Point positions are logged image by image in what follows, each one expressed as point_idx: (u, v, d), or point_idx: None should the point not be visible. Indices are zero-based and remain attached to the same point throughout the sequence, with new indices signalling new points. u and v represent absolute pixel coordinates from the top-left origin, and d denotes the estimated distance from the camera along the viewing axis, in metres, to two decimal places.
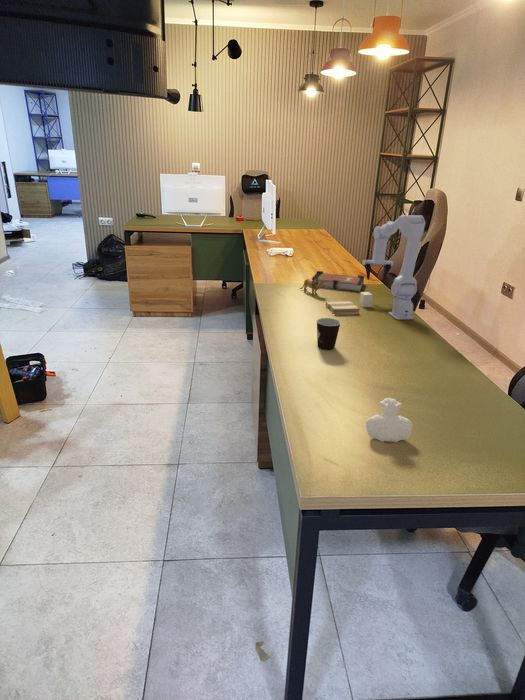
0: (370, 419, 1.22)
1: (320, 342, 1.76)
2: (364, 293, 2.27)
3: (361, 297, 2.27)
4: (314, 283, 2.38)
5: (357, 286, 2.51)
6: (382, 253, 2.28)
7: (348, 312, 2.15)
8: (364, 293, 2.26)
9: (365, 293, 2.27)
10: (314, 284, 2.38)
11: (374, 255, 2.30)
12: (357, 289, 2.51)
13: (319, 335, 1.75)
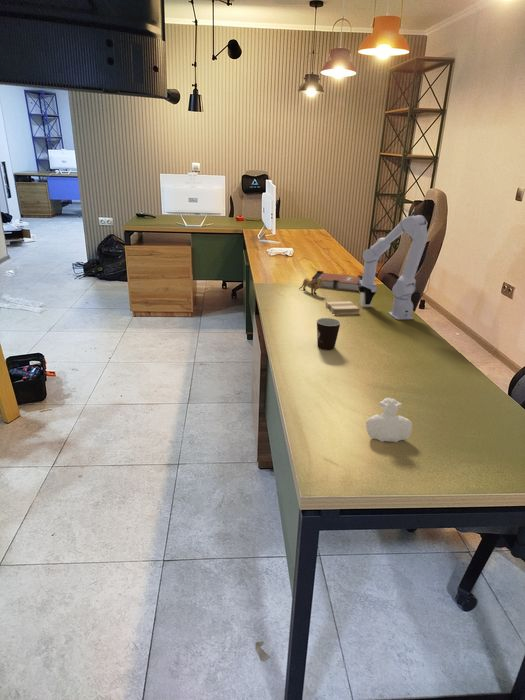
0: (370, 419, 1.22)
1: (320, 342, 1.76)
2: (364, 293, 2.26)
3: (361, 297, 2.27)
4: (313, 283, 2.39)
5: (357, 286, 2.51)
6: (364, 275, 2.22)
7: (348, 312, 2.15)
8: (364, 293, 2.26)
9: None
10: (313, 284, 2.39)
11: None
12: (357, 289, 2.51)
13: (319, 335, 1.75)
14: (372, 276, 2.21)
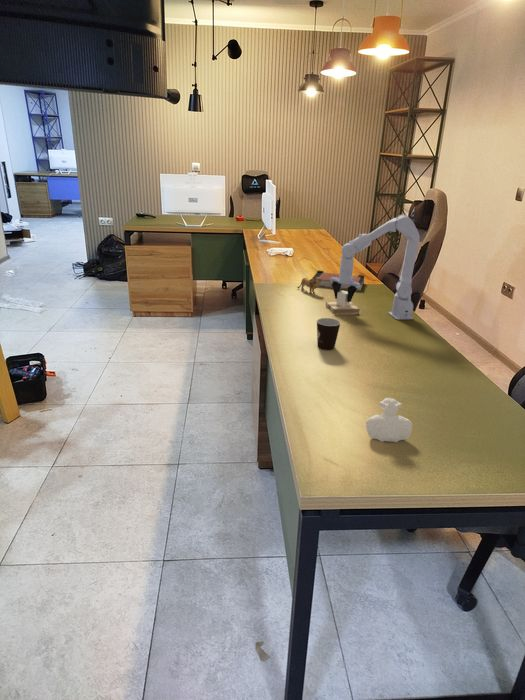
0: (370, 419, 1.22)
1: (320, 342, 1.76)
2: (343, 292, 2.17)
3: (340, 297, 2.17)
4: (312, 282, 2.40)
5: None
6: (344, 272, 2.11)
7: (349, 312, 2.15)
8: (343, 293, 2.17)
9: (343, 292, 2.17)
10: (312, 283, 2.40)
11: None
12: (358, 288, 2.52)
13: (319, 335, 1.75)
14: (352, 272, 2.12)
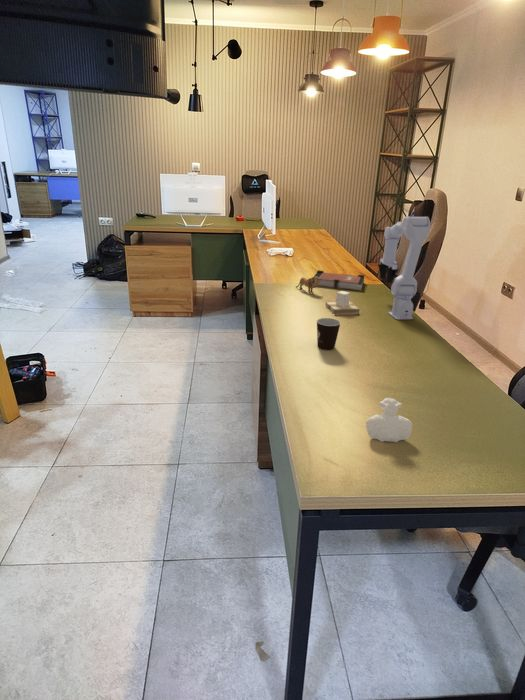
0: (370, 419, 1.22)
1: (320, 342, 1.76)
2: (342, 293, 2.17)
3: (339, 297, 2.17)
4: (310, 281, 2.41)
5: (358, 285, 2.52)
6: (385, 253, 2.26)
7: (348, 312, 2.15)
8: (342, 293, 2.17)
9: (342, 292, 2.17)
10: (310, 282, 2.41)
11: None
12: (358, 288, 2.53)
13: (319, 335, 1.75)
14: (393, 254, 2.25)
